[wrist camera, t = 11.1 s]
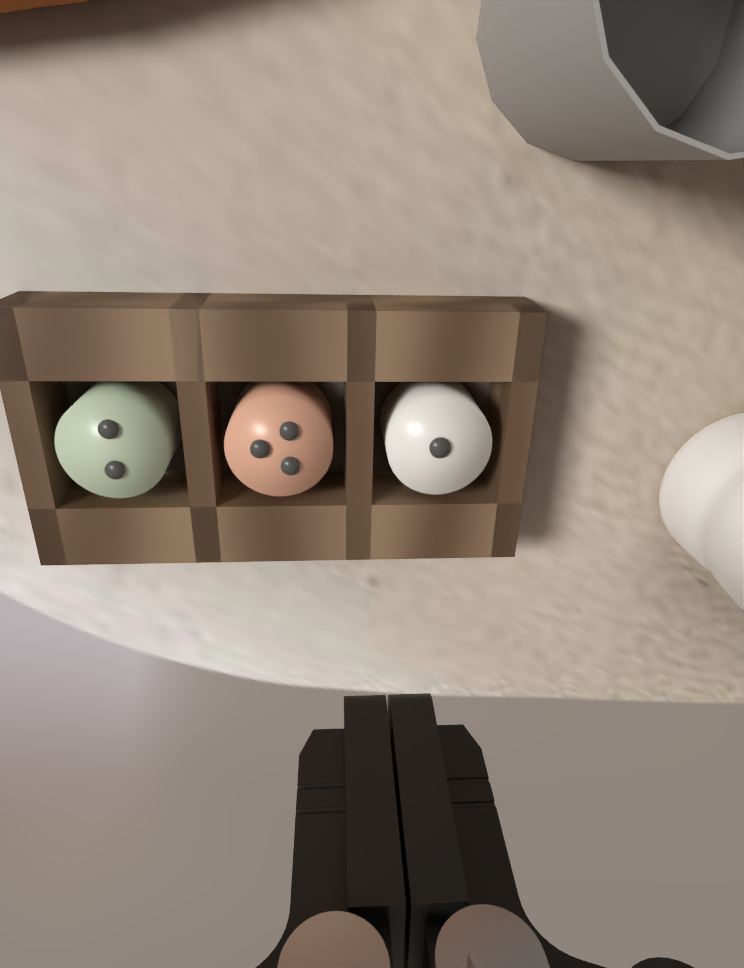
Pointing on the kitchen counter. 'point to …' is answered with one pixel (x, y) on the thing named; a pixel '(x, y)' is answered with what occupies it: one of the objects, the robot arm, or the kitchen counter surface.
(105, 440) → the button two
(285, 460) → the button three
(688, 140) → the cup
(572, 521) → the kitchen counter surface
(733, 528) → the water bottle
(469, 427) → the button one
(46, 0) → the food
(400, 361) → the wooden compartment tray
